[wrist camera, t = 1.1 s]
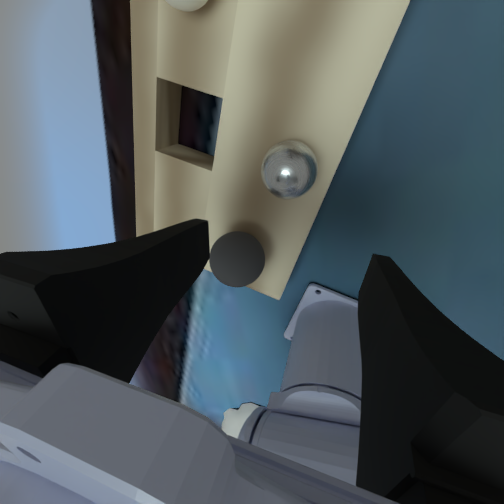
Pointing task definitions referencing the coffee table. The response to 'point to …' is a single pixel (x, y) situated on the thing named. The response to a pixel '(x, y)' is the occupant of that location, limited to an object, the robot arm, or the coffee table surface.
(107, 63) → the coffee table surface
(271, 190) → the steel ball
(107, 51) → the coffee table surface
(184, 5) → the cream plastic ball
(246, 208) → the cream knobbed board
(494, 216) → the coffee table surface
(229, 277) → the black rubber ball
